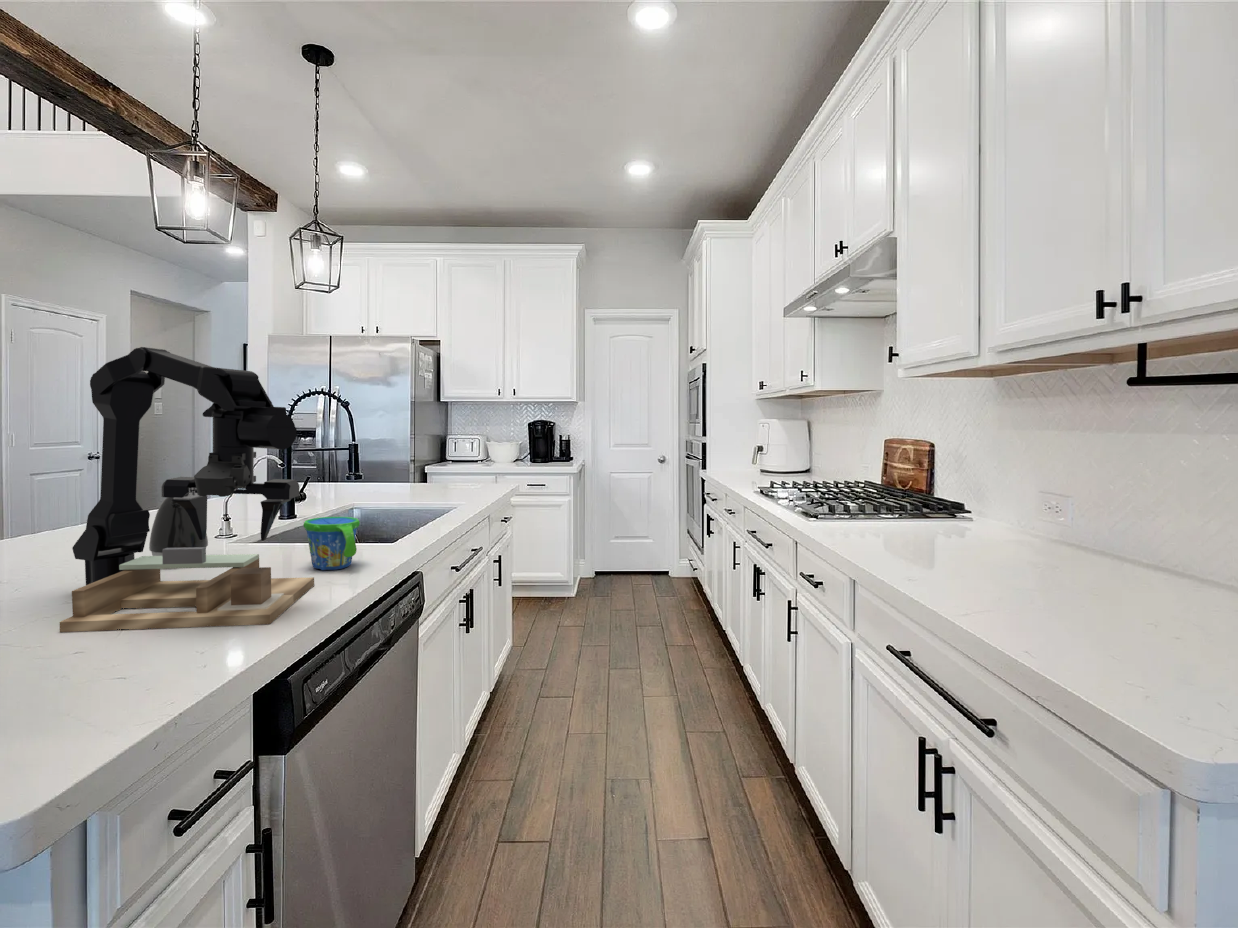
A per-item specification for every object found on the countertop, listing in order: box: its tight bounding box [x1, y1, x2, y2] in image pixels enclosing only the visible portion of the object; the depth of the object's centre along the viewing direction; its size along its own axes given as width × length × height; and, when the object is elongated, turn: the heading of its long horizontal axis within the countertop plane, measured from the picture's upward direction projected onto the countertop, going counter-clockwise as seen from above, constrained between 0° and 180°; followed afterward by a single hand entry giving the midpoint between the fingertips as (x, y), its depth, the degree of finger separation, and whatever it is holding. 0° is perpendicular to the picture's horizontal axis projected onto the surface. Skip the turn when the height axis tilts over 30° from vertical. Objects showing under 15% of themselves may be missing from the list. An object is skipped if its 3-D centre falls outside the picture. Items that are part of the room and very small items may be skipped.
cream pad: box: [218, 593, 284, 611], centre depth 100 cm, size 7×8×1 cm
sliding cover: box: [119, 547, 260, 570], centre depth 108 cm, size 19×7×3 cm, turn 101°
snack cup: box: [303, 516, 360, 571], centre depth 131 cm, size 16×10×10 cm
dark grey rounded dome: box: [148, 497, 209, 556], centre depth 131 cm, size 10×10×15 cm
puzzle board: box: [59, 558, 315, 633], centre depth 103 cm, size 28×23×6 cm
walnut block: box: [230, 566, 272, 605], centre depth 100 cm, size 4×4×5 cm
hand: (233, 539), depth 102 cm, fingers open, 9 cm apart
